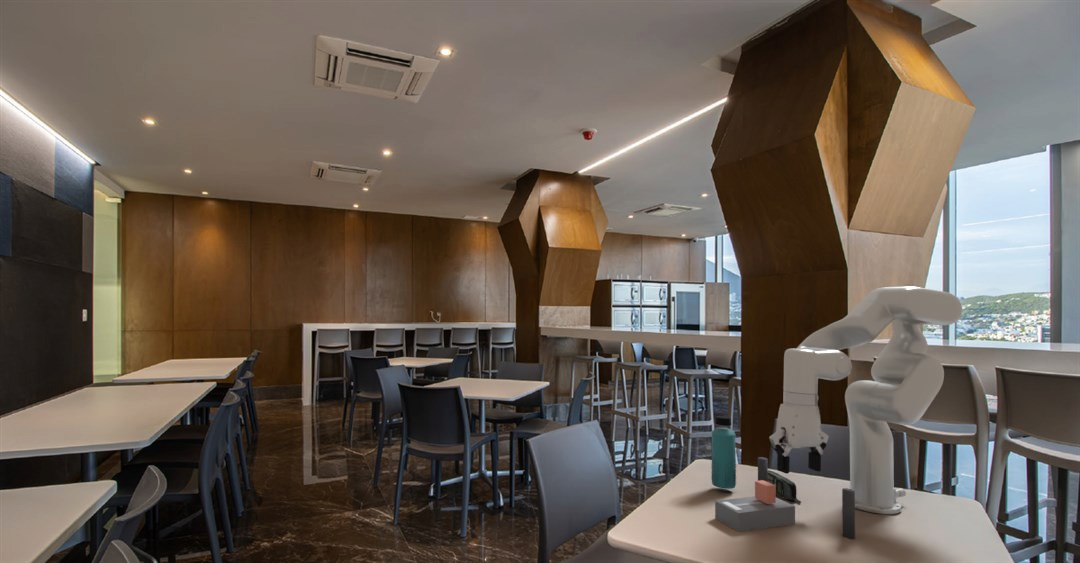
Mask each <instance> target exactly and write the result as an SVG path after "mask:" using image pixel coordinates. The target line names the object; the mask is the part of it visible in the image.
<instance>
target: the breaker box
mask: <svg viewBox="0 0 1080 563" xmlns="http://www.w3.org/2000/svg"><path fill="white" fill-rule="evenodd" d="M714 505H715V506H714V508H715V509H714V518H715V520H718V521H719V522H721V523H722V524H725V525H726V526H728V527H730V528H731V529H733V530H735V531H737V532H746V531H752V530H760V529H767V528H775V527H782V526H789V525H795V524H796V505H793V504H791V503H789V502H787V501H784V500H782V499H780V498H778V497H776V503H771V504H766V503H764V502H762V501H760V500H758V499H756V498H755V495H754V496H748V497H736V498H730V499H720V500H715V501H714Z"/></svg>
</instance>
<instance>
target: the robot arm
mask: <svg viewBox="0 0 1080 563" xmlns="http://www.w3.org/2000/svg"><path fill="white" fill-rule="evenodd" d="M962 306H963V305H962V303H961V301H960V299H959V298H958V297H957V296H956V295H955V294H953V293H951V292H948V291H941V290H936V289H931V288H924V287H918V286H887V287H885V286H883V287H878V288H875V289H873V290H872V291H870V292H869V293H868V294H867V295H866V296H865V297H864V298H863V299H861V301H860V302H859V303H857V305H856V306H854V307H853V308H852V310H851V311H850V312H849V313H848V314H847V315H846V316H844V317H843V318H842V319H840V320H837V321H835V322H832V323H830V324H828V325H827V326H824V327H821V328H819V329H818V330H816V331H814V332H812V333H811V334H810V335H808V336H807V337H806V338H805V339H803V341H802V342H801V343H800V344H799V345H798V346H797V347H796V348H787V349H786V350H785V351H784V354H783V355H784V356H783V395H782V396H783V398H782V399H783V400H782V401H783V403H780V405H779V408H778V409H779V410H778V415H777V420H776V431H775V432H774V433H773V434H771V435H770V436H768V437H769V441H770V444H771V448H772V449H773V450H774V452H775V454H776V456H777V457H776V458H777V459H776V462H777V464H776V469H777V471H778V472H781V473H784V474H789V473H790V456H788V455H789V453H790V452H791V450H792V449H807V448H809V450H810V451H808V460H807V461H808V462H807V463H808V464H807V465H808V469H810V470H813V471H816V472H821V471H822V455H823V454H824V449H825V448H827V443H828V441H829V437H830V436H829V435H828V434H827V433H825V432H824V431H822V423H821V414H820V409H819V408H820V407H819V406H818V401H819V394H818V388H819V386H818V384H819V379H822V380H826V381H827V380H828V381H840V380H843V379H846V378H847V377H848V376H849V375H850V374H851V371H852V370H853V365H852V360H851V359H850V357H849V356H848V355H847V354H846V353H845V352H843V351H841V350H845V349H851V348H855V347H859V346H863V345H867V344H869V343H872V342H873V341H875V340H876V338H877V337H878V336H879V335H881V333H882V332H883V331H884V330H885V329H886V328H887V327H888V326H889V325H890V324H891V328H892V334H891V337H890V338H889V341H888V342H887V344H886V345H885V346H884V348H883V349H882V350H881V352H880V353H879V355H878V356H877V358H876V359H875V360H874V362H873V364H872V366H871V370H870V373H871V374H870V375H871V377H872V379H873V380H865V379H864V380H856V381H853V382H852V383H851V384H849V385H848V386H847V388H846V390H845V394H844V401H845V402H844V403H845V407H846V411H847V416H848V421H849V422H848V423H849V424H848V425H849V489H852V490H854V491H855V509H858V510H860V511H865V512H869V513H873V514H874V513H875V514H882V515H893V514H895V515H896V514H898V513H901V511H902V505H901V504H900V503H899V502H897V499H898V498H901V497H902V498H903V497H905V496H906V495H907V493H906V490H905V489H903V488H895V487H894V485H895V482H894V479H895V478H894V477H895V476H894V474H895V473H894V437H893V434H892V431H891V427H890V426H889V424H888V423H891V424H897V425H901V426H910V425H913V424H915V423H918V421H919V420H920V419H921V418H922V417H923V416H924V415H925V413H926V412H927V410H928V408H929V407H930V405H931V403H932V402H933V401H934V399H935V398H936V396H937V395H938V393H939V392H940V391H941V388H942V386H943V384H944V379H945V378H944V377H945V371H944V366H943V365H942V363H941V361H940V360H939V359H938V358H936V357H935V356H933V355H931V354H926V353H927V351H928V348H929V347H928V346H929V345H928V342H927V341H928V340H927V339H926V337H925V334H923V332H922V330H921V327H920V325H921V326H922V325H924V326H926V325H927V326H949V325H950V326H951V325H953V324H956V322H958V320H959V319H960V318H961V316H962V313H963V307H962Z"/></svg>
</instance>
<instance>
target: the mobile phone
mask: <svg viewBox="0 0 1080 563" xmlns="http://www.w3.org/2000/svg"><path fill="white" fill-rule="evenodd" d="M768 482H769V483H771V484H773V485H776V495H777V494H778V495H777V496H778V497H780V498H781V499H782V498H783V499H787V500H790V501H794V502H796V503H798V504H802V501H801V500H799V499H798V498H797V490H798V489H797V485H796V483H795V482H794V481H792V480H791V479H789V478H788V477H786V476H783V475H781V474H779V473H778V472H775V471H773V470H769V469H768Z"/></svg>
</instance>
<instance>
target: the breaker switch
mask: <svg viewBox="0 0 1080 563" xmlns="http://www.w3.org/2000/svg"><path fill="white" fill-rule="evenodd" d="M776 495H777V494H776V485H773V484H771V483H769V482H766V481H764V480H760V481H758V480H755V481H754V496H755V498H756V499H758V500H760V501H762V502H764V503H766V504H771V503H776V498H777V497H776Z"/></svg>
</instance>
